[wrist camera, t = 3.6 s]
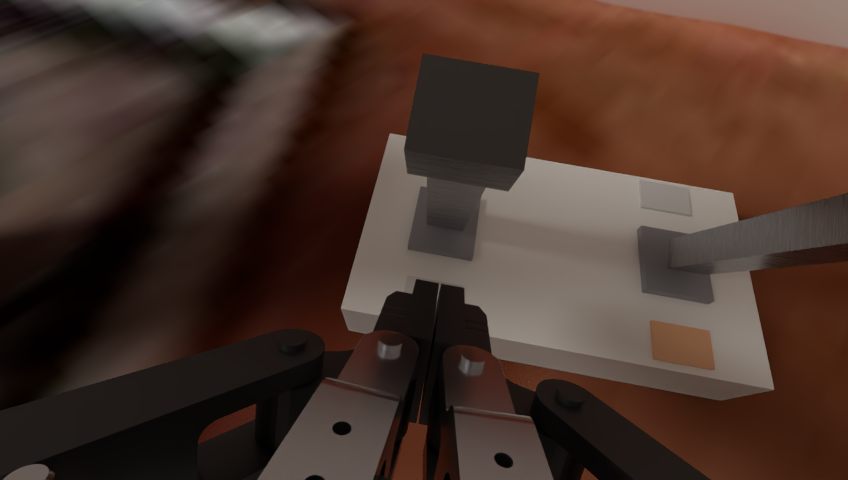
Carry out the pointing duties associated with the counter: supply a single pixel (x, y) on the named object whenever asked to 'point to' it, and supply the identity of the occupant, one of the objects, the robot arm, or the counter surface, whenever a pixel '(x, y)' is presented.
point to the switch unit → (573, 275)
